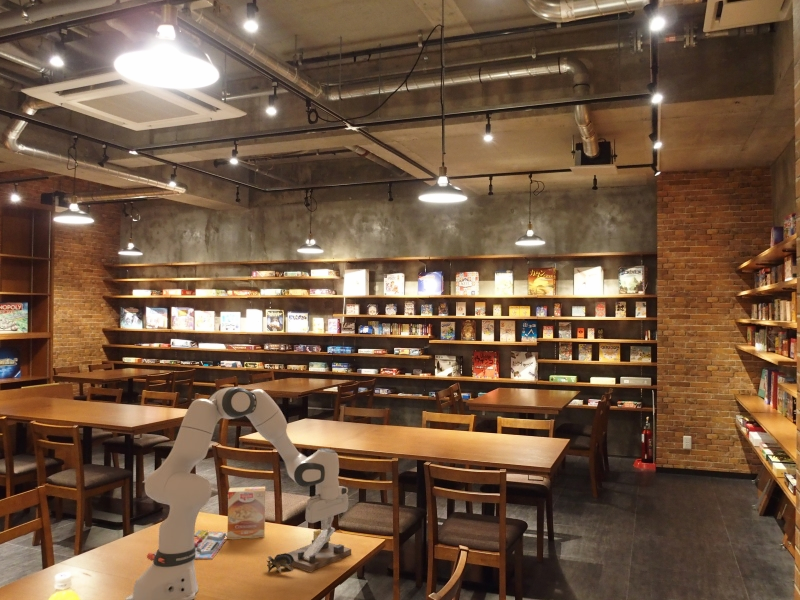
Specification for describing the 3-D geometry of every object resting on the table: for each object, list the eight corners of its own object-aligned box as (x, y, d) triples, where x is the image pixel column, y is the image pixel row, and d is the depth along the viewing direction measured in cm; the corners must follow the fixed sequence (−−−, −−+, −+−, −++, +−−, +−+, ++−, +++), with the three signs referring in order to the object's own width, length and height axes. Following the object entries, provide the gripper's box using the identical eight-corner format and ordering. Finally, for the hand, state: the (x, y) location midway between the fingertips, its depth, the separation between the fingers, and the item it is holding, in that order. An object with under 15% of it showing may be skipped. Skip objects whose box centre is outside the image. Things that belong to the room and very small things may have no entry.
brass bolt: (324, 543, 239) (324, 534, 240) (313, 540, 243) (313, 531, 243) (330, 541, 242) (330, 532, 242) (318, 537, 245) (319, 529, 246)
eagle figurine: (271, 574, 217) (296, 566, 221) (266, 554, 221) (290, 546, 224) (269, 579, 223) (293, 571, 227) (264, 559, 227) (288, 551, 230)
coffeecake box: (227, 540, 255) (227, 491, 256) (228, 534, 262) (229, 487, 263) (264, 538, 258) (265, 490, 259) (264, 532, 265) (265, 485, 266)
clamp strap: (310, 562, 227) (308, 560, 227) (302, 559, 229) (301, 557, 229) (335, 530, 238) (334, 527, 238) (327, 528, 240) (326, 525, 240)
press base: (310, 572, 223) (310, 559, 223) (279, 561, 232) (279, 549, 233) (351, 554, 241) (351, 542, 241) (320, 545, 250) (321, 534, 250)
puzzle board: (212, 561, 234) (212, 554, 234) (150, 561, 233) (150, 554, 234) (231, 534, 265) (231, 527, 265) (176, 534, 264) (176, 528, 264)
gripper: (313, 499, 228) (313, 537, 227) (351, 487, 244) (350, 523, 244) (301, 496, 231) (301, 534, 231) (338, 485, 248) (338, 520, 247)
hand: (327, 528), depth 237 cm, fingers closed
